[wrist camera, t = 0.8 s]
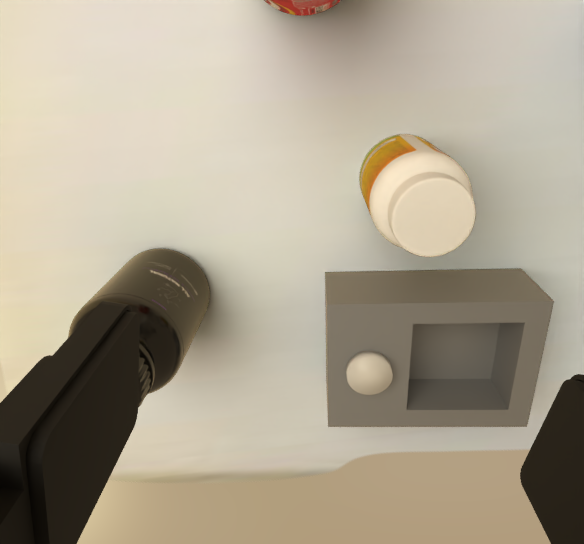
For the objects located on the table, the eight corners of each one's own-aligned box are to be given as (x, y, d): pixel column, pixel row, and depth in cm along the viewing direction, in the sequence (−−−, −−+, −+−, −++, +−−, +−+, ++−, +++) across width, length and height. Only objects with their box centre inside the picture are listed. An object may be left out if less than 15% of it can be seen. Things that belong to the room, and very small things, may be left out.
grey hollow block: (525, 268, 33) (565, 307, 28) (504, 382, 37) (536, 434, 32) (325, 272, 34) (327, 310, 29) (326, 383, 38) (328, 434, 33)
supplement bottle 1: (209, 246, 34) (158, 335, 23) (213, 327, 36) (170, 441, 25) (115, 243, 34) (20, 329, 23) (127, 324, 37) (47, 435, 26)
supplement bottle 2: (354, 211, 32) (370, 268, 23) (362, 131, 30) (383, 159, 21) (433, 215, 32) (479, 274, 23) (447, 134, 30) (503, 165, 21)
